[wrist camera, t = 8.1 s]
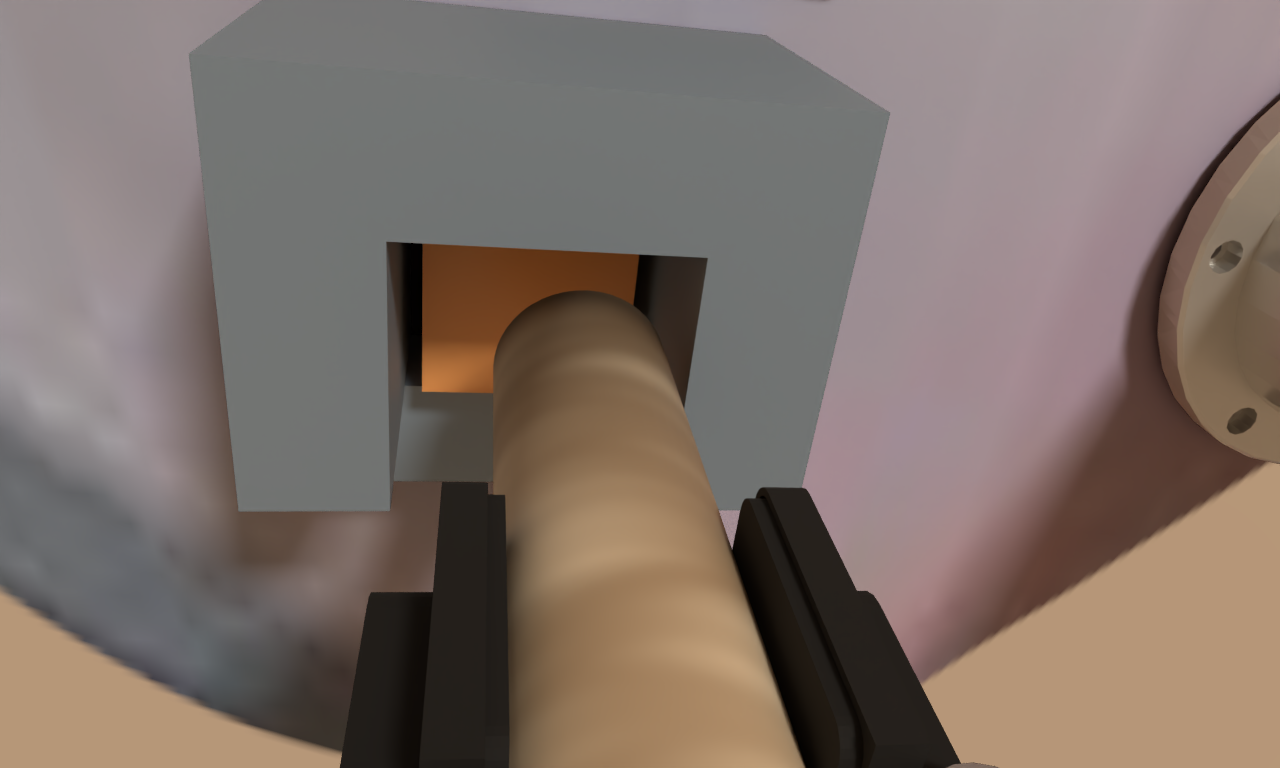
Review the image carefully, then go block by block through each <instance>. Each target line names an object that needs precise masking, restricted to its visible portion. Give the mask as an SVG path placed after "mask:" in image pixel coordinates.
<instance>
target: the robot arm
mask: <svg viewBox="0 0 1280 768" xmlns="http://www.w3.org/2000/svg"><path fill="white" fill-rule="evenodd" d="M1157 336H1158V343H1159V350H1160V357H1161V364H1162V369H1163V372H1164V374H1165V377H1166V379H1167V381H1168V384H1169V386H1170V388H1171V391H1172V393H1173V395H1174V398H1175V399H1176V400H1177V401H1178V403H1179V404H1180V405H1181V406H1182V408H1183V409H1184V410H1185V411H1186V412H1187V414H1188V415H1189V416H1190V417H1191V419H1192V420H1193V421H1194V422H1196V423H1197V424H1198V425H1199V426H1201V427H1202V428H1203V429H1204V430H1206V431H1207V432H1208V433H1209V434H1211V435H1212V436H1213V437H1214V438H1216V439H1217V440H1218V441H1219V442H1221V443H1222V444H1224V445H1226V446H1228V447H1230V448H1232V449H1234V450H1236V451H1238V452H1240V453H1242V454H1244V455H1246V456H1248V457H1250V458H1254V459H1259V460H1263V461H1268V462H1272V463H1277V464H1280V100H1279V101H1278V102H1277V103H1276V104H1275V105H1274V106H1273V107H1271V108H1270V109H1269V110H1268V111H1267V112H1266V113H1265V114H1264V115H1263V116H1262V117H1261V118H1260V119H1258V120H1257V121H1256V122H1255V123H1254V125H1253V126H1252V127H1251V128H1250V129H1249V131H1248V132H1247V133H1246V134H1245V135H1244V136H1243V138H1242V139H1241V140H1240V141H1239V142H1238V144H1237V145H1236V146H1235V147H1234V148H1233V150H1232V151H1231V152H1230V153H1229V154H1228V156H1227V157H1226V158H1225V159H1224V160H1223V162H1222V163H1221V164H1220V165H1219V167H1218V168H1217V170H1216V171H1215V173H1214V175H1213V176H1212V178H1211V179H1210V181H1209V183H1208V184H1207V186H1206V187H1205V189H1204V190H1203V192H1202V194H1201V195H1200V197H1199V198H1198V200H1197V201H1196V203H1195V205H1194V206H1193V208H1192V209H1191V212H1190V214H1189V216H1188V218H1187V220H1186V223H1185V225H1184V227H1183V229H1182V232H1181V234H1180V236H1179V238H1178V240H1177V243H1176V245H1175V247H1174V249H1173V252H1172V254H1171V258H1170V261H1169V265H1168V269H1167V272H1166V276H1165V280H1164V284H1163V287H1162V291H1161V295H1160V305H1159V319H1158V332H1157ZM732 551H733V554H734V557H735V560H736V563H737V566H738V569H739V572H740V575H741V578H742V581H743V584H744V587H745V590H746V592H747V595H748V598H749V601H750V604H751V607H752V610H753V613H754V616H755V619H756V622H757V625H758V628H759V631H760V634H761V636H762V639H763V642H764V645H765V648H766V651H767V654H768V657H769V660H770V663H771V666H772V669H773V672H774V675H775V678H776V681H777V683H778V686H779V689H780V692H781V695H782V698H783V701H784V704H785V707H786V710H787V713H788V716H789V719H790V722H791V725H792V727H793V730H794V733H795V736H796V739H797V742H798V745H799V748H800V751H801V754H802V757H803V760H804V763H805V766H806V768H998V767H995V766H990V765H984V764H978V763H963V764H961V763H960V761H959V759H958V757H957V755H956V753H955V751H954V749H953V747H952V745H951V743H950V741H949V739H948V737H947V735H946V733H945V731H944V729H943V727H942V725H941V723H940V722H939V719H938V718H937V716H936V714H935V712H934V710H933V708H932V706H931V704H930V702H929V700H928V698H927V696H926V694H925V692H924V690H923V688H922V686H921V684H920V682H919V680H918V678H917V676H916V674H915V672H914V671H913V669H912V667H911V665H910V663H909V661H908V659H907V657H906V655H905V653H904V651H903V649H902V647H901V645H900V643H899V641H898V639H897V637H896V635H895V633H894V631H893V629H892V628H891V626H890V624H889V622H888V620H887V618H886V616H885V614H884V612H883V610H882V608H881V606H880V604H879V603H878V601H877V600H876V598H875V597H874V595H872V594H871V593H869V592H868V591H857V590H856V588H855V586H854V584H853V582H852V580H851V578H850V576H849V574H848V572H847V570H846V568H845V566H844V563H843V561H842V559H841V557H840V555H839V553H838V551H837V549H836V547H835V545H834V543H833V541H832V539H831V537H830V535H829V533H828V531H827V529H826V527H825V525H824V523H823V521H822V519H821V517H820V514H819V512H818V510H817V508H816V506H815V504H814V502H813V500H812V498H811V496H810V494H809V493H808V491H807V490H806V489H804V488H787V487H762V488H760V489H759V490H758V492H757V494H756V498H746V499H744V501H743V503H742V506H741V510H740V515H739V520H738V525H737V530H736V534H735V539H734V544H733V549H732ZM509 743H510V727H509V670H508V614H507V558H506V502H505V495H488V483H485V482H442V490H441V502H440V514H439V527H438V539H437V551H436V563H435V575H434V588H433V592H372V593H371V594H370V596H369V599H368V604H367V609H366V615H365V621H364V627H363V633H362V639H361V645H360V651H359V657H358V663H357V669H356V675H355V681H354V687H353V693H352V698H351V704H350V710H349V716H348V722H347V728H346V734H345V740H344V746H343V752H342V758H341V764H340V768H509Z"/></svg>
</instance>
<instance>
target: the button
mask: <svg viewBox="0 0 1280 768" xmlns="http://www.w3.org/2000/svg"><path fill="white" fill-rule="evenodd" d="M638 261H639V254H621V253H602V252H582V251H562V250H542V249H522V248H503V247H483V246H463V245H443V244H423V293H422V392H464V393H493V364H494V356H495V352H496V349H497V345H498V343H499V341H500V339H501V336H502V335H503V333H504V331H505V330H506V328H507V327H508V326H509V324H510V323H511V322H512V321H513V319H514V318H515V317H517V316H518V315H519V314H520V313H521V312H522V311H523V310H525V309H526V308H527V307H529V306H530V305H532V304H534V303H535V302H537V301H539V300H541V299H543V298H546V297H548V296H551V295H554V294H558V293H562V292H568V291H575V290H589V291H597V292H602V293H606V294H610V295H613V296H616V297H618V298H621V299H623V300H625V301H626V302H628V303H630V304H632V305H633V303H634V295H635V286H636V278H637V270H638Z"/></svg>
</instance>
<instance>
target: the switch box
mask: <svg viewBox="0 0 1280 768" xmlns="http://www.w3.org/2000/svg"><path fill="white" fill-rule="evenodd" d="M189 59H190V68H191V78H192V87H193V96H194V105H195V115H196V124H197V133H198V142H199V151H200V161H201V170H202V179H203V188H204V198H205V207H206V216H207V225H208V234H209V244H210V253H211V262H212V271H213V281H214V290H215V299H216V308H217V318H218V327H219V336H220V345H221V354H222V364H223V373H224V382H225V391H226V401H227V410H228V419H229V428H230V437H231V447H232V456H233V465H234V474H235V484H236V493H237V502H238V511H239V512H244V511H390V508H391V499H392V491H393V482H394V481H471V482H493V393H464V392H422V335H411V243H423V244H443V245H463V246H483V247H503V248H522V249H542V250H562V251H582V252H602V253H621V254H639V261H638V270H637V278H636V286H635V295H634V303H633V306H634V307H636V308H637V309H638V310H640V311H641V312H642V313H643V314H644V315H645V316H646V317H647V318H648V320H649V321H650V322H651V323H652V325H653V326H654V328H655V330H656V331H657V333H658V335H659V338H660V340H661V343H662V346H663V349H664V352H665V355H666V358H667V361H668V363H669V366H670V369H671V372H672V375H673V378H674V381H675V384H676V387H677V390H678V393H679V396H680V399H681V402H682V405H683V407H684V410H685V413H686V416H687V419H688V422H689V425H690V428H691V431H692V434H693V437H694V440H695V443H696V446H697V449H698V452H699V454H700V457H701V460H702V463H703V466H704V469H705V472H706V475H707V478H708V481H709V484H710V487H711V490H712V493H713V496H714V498H715V501H716V504H717V507H718V510H741V506H742V503H743V501H744V499H746V498H756V494H757V492H758V490H759V489H760V488H762V487H787V488H802V484H803V480H804V475H805V471H806V467H807V463H808V459H809V454H810V450H811V446H812V442H813V437H814V433H815V429H816V425H817V420H818V416H819V412H820V408H821V403H822V399H823V395H824V391H825V387H826V382H827V378H828V374H829V370H830V365H831V361H832V357H833V353H834V348H835V344H836V340H837V336H838V332H839V327H840V323H841V319H842V315H843V310H844V306H845V302H846V298H847V293H848V289H849V285H850V281H851V277H852V272H853V268H854V264H855V260H856V255H857V251H858V247H859V243H860V238H861V234H862V230H863V226H864V222H865V217H866V213H867V209H868V205H869V200H870V196H871V192H872V188H873V183H874V179H875V175H876V171H877V166H878V162H879V158H880V154H881V150H882V145H883V141H884V137H885V133H886V128H887V124H888V120H889V116H890V112H888V111H887V110H885V109H883V108H882V107H880V106H879V105H877V104H875V103H874V102H872V101H871V100H869V99H867V98H866V97H864V96H863V95H861V94H859V93H858V92H856V91H854V90H853V89H851V88H850V87H848V86H846V85H845V84H843V83H842V82H840V81H838V80H837V79H835V78H834V77H832V76H830V75H829V74H827V73H826V72H824V71H822V70H821V69H819V68H818V67H816V66H814V65H813V64H811V63H810V62H808V61H806V60H805V59H803V58H802V57H800V56H798V55H797V54H795V53H794V52H792V51H790V50H789V49H787V48H785V47H784V46H782V45H781V44H779V43H777V42H776V41H774V40H773V39H771V38H769V37H768V36H766V35H757V34H747V33H737V32H726V31H716V30H706V29H696V28H686V27H676V26H665V25H655V24H645V23H635V22H625V21H615V20H604V19H594V18H584V17H574V16H564V15H554V14H544V13H533V12H523V11H513V10H503V9H493V8H483V7H472V6H462V5H452V4H442V3H432V2H422V1H411V0H262V1H260V2H259V3H258V4H256V5H255V6H253V7H252V8H251V9H249V10H248V11H247V12H245V13H244V14H242V15H241V16H240V17H238V18H237V19H236V20H234V21H233V22H232V23H230V24H229V25H227V26H226V27H225V28H223V29H222V30H221V31H219V32H218V33H217V34H215V35H214V36H212V37H211V38H210V39H208V40H207V41H206V42H204V43H203V44H202V45H200V46H199V47H197V48H196V49H195V50H193V51H192V52H191V53H189Z"/></svg>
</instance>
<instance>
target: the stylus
mask: <svg viewBox="0 0 1280 768" xmlns="http://www.w3.org/2000/svg"><path fill="white" fill-rule="evenodd" d="M493 495H505V502H506V558H507V614H508V670H509V727H510V743H509V768H806V766H805V763H804V760H803V757H802V754H801V751H800V748H799V745H798V742H797V739H796V736H795V733H794V730H793V727H792V725H791V722H790V719H789V716H788V713H787V710H786V707H785V704H784V701H783V698H782V695H781V692H780V689H779V686H778V683H777V681H776V678H775V675H774V672H773V669H772V666H771V663H770V660H769V657H768V654H767V651H766V648H765V645H764V642H763V639H762V636H761V634H760V631H759V628H758V625H757V622H756V619H755V616H754V613H753V610H752V607H751V604H750V601H749V598H748V595H747V592H746V590H745V587H744V584H743V581H742V578H741V575H740V572H739V569H738V566H737V563H736V560H735V557H734V554H733V551H732V548H731V545H730V543H729V540H728V537H727V534H726V531H725V528H724V525H723V522H722V519H721V516H720V513H719V510H718V507H717V504H716V501H715V498H714V496H713V493H712V490H711V487H710V484H709V481H708V478H707V475H706V472H705V469H704V466H703V463H702V460H701V457H700V454H699V452H698V449H697V446H696V443H695V440H694V437H693V434H692V431H691V428H690V425H689V422H688V419H687V416H686V413H685V410H684V407H683V405H682V402H681V399H680V396H679V393H678V390H677V387H676V384H675V381H674V378H673V375H672V372H671V369H670V366H669V363H668V361H667V358H666V355H665V352H664V349H663V346H662V343H661V340H660V338H659V335H658V333H657V331H656V330H655V328H654V326H653V325H652V323H651V322H650V321H649V320H648V318H647V317H646V316H645V315H644V314H643V313H642V312H641V311H640V310H638V309H637V308H636V307H634V306H633V305H632V304H630V303H628V302H626V301H625V300H623V299H621V298H618V297H616V296H613V295H610V294H606V293H602V292H597V291H589V290H575V291H568V292H562V293H558V294H554V295H551V296H548V297H546V298H543V299H541V300H539V301H537V302H535V303H534V304H532V305H530V306H529V307H527V308H526V309H525V310H523V311H522V312H521V313H520V314H519V315H518V316H517V317H515V318H514V319H513V321H512V322H511V323H510V324H509V326H508V327H507V328H506V330H505V331H504V333H503V335H502V336H501V339H500V341H499V343H498V345H497V349H496V352H495V356H494V364H493Z"/></svg>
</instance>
